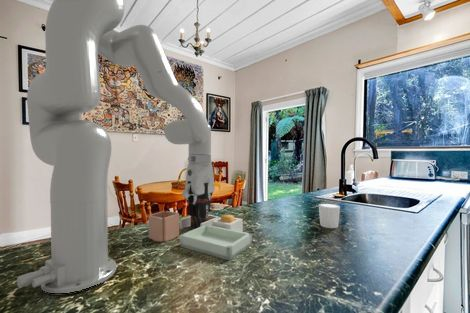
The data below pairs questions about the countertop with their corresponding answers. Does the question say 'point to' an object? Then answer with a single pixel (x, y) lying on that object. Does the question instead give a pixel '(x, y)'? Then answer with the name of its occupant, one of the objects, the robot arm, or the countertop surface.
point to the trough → (216, 241)
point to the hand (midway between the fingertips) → (199, 213)
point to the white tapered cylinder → (329, 215)
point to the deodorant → (201, 209)
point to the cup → (163, 226)
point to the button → (227, 218)
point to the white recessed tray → (215, 223)
